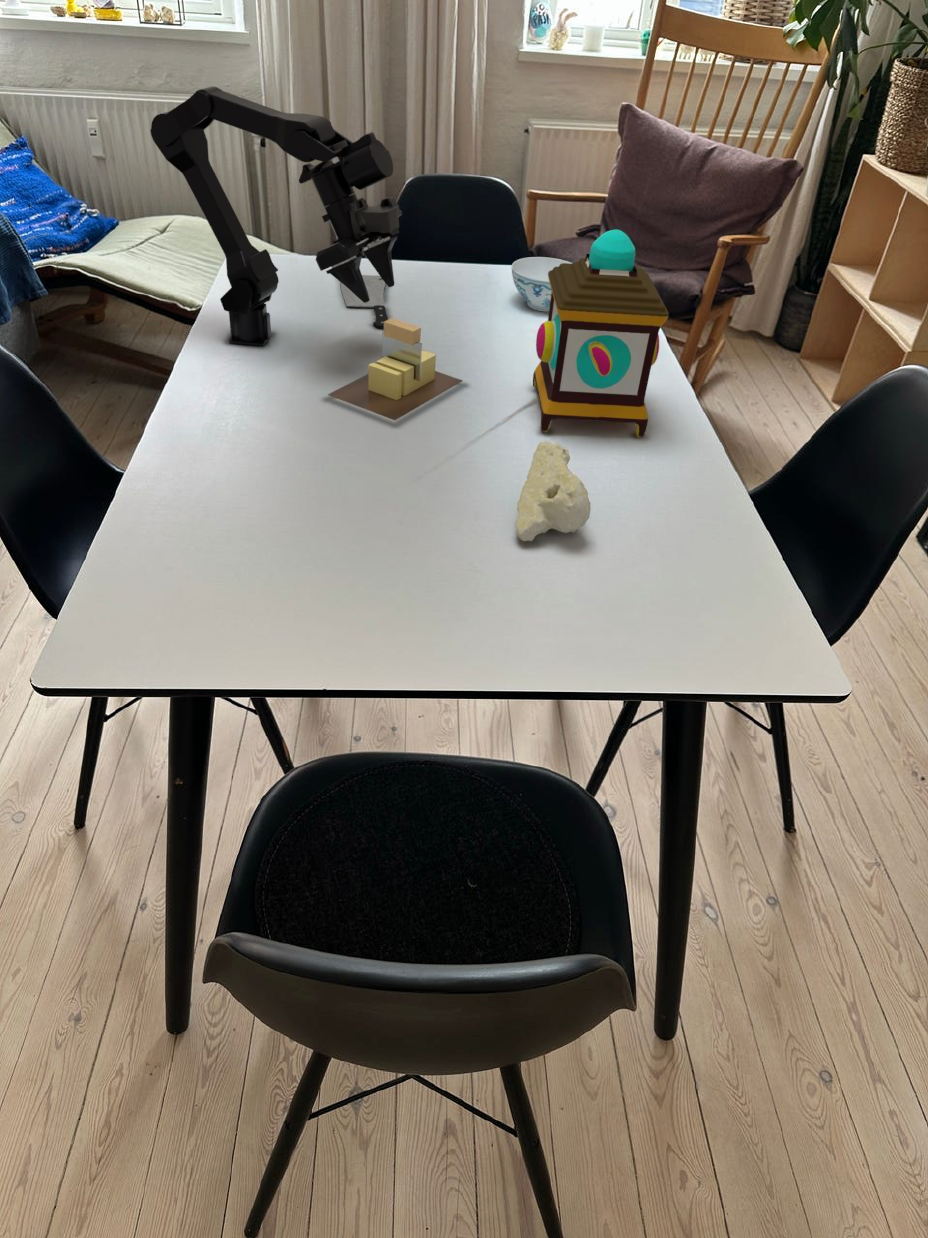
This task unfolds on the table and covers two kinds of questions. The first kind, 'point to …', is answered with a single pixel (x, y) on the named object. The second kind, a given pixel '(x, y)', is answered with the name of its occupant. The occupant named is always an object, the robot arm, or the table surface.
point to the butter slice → (385, 381)
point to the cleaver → (375, 295)
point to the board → (388, 406)
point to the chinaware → (535, 280)
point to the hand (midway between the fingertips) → (379, 293)
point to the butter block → (412, 371)
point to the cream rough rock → (551, 495)
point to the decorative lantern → (599, 337)
